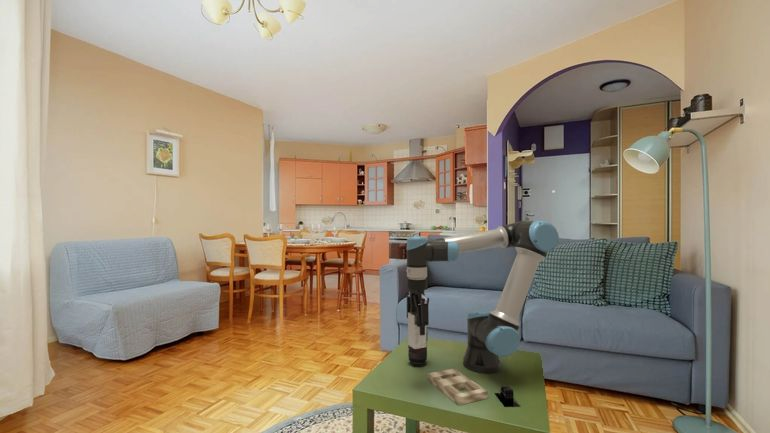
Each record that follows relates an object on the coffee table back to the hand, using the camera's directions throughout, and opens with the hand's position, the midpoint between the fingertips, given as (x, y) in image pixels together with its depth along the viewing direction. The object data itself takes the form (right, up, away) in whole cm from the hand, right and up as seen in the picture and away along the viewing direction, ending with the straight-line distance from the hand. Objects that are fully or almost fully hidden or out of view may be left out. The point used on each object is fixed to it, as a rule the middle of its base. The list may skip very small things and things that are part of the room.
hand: (417, 340), depth 129 cm
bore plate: (+14, -16, -2) cm, 22 cm away
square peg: (0, -2, 0) cm, 2 cm away
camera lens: (+2, -17, +20) cm, 26 cm away
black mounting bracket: (+30, -17, -10) cm, 36 cm away
